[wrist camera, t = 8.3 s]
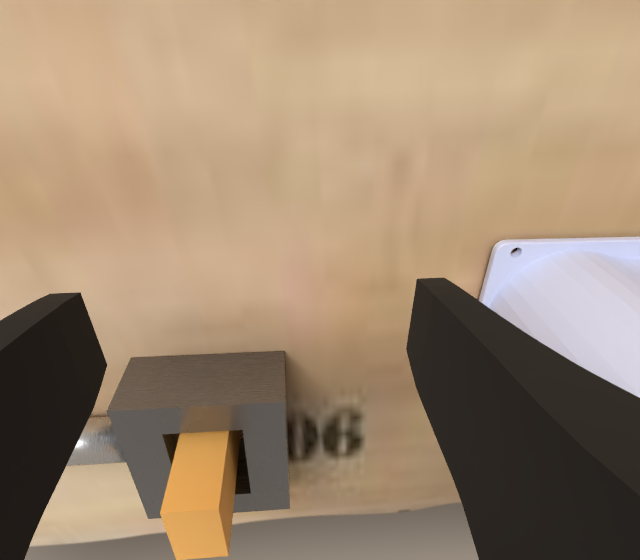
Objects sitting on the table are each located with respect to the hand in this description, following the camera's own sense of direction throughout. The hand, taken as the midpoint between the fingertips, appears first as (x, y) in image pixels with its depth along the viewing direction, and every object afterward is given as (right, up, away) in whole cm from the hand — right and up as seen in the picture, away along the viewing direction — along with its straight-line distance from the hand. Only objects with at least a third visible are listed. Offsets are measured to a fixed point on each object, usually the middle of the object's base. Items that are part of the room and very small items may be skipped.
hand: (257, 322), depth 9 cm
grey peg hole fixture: (-9, -7, +15) cm, 18 cm away
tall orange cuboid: (-5, -7, +15) cm, 17 cm away
